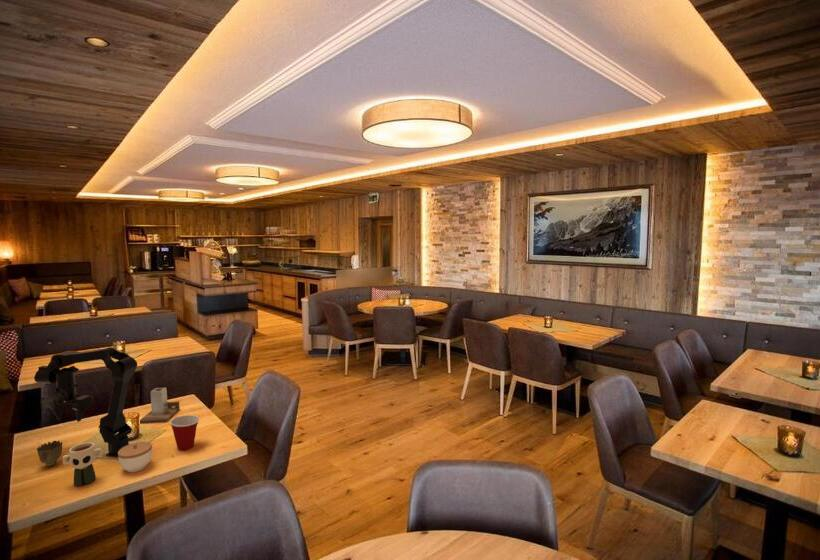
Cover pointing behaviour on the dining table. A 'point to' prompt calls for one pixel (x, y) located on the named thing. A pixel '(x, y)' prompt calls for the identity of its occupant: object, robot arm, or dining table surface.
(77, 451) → the character mug
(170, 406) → the brown flat stand
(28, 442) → the dining table surface
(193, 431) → the plastic cup
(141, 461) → the lidded jar
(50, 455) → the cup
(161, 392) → the grey rectangular block
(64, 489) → the dining table surface
